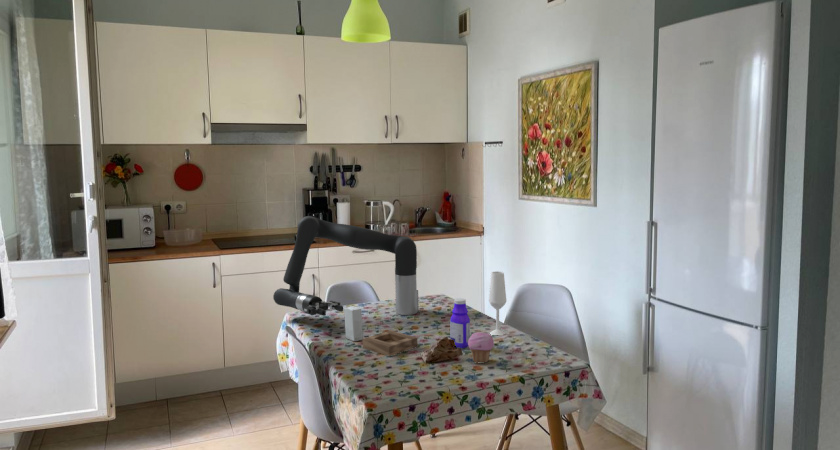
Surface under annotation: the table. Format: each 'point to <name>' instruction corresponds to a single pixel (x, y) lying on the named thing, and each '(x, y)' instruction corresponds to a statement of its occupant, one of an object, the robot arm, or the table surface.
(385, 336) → the walnut socket block
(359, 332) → the skincare box
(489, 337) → the cupcake
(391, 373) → the table surface
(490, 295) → the champagne flute
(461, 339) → the bottle
